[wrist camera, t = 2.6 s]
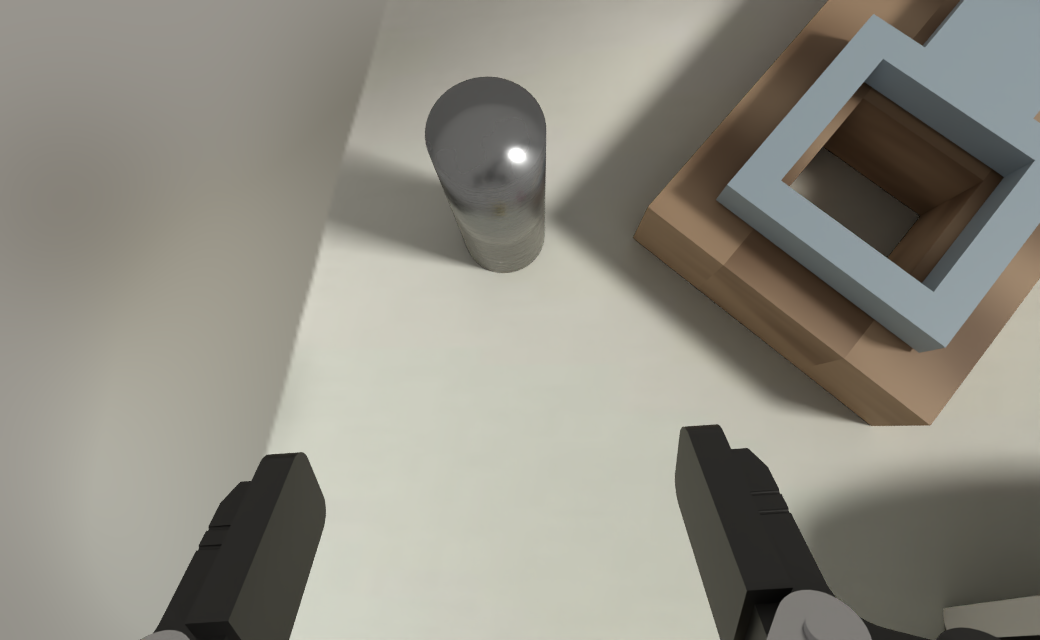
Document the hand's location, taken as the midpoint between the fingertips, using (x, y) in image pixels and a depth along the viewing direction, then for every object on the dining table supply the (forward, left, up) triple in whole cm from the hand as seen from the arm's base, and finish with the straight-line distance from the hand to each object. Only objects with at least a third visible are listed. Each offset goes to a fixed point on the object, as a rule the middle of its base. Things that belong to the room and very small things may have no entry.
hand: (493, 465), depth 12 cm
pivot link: (-23, +5, -10) cm, 25 cm away
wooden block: (-22, +5, -14) cm, 27 cm away
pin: (-7, -7, -14) cm, 18 cm away
